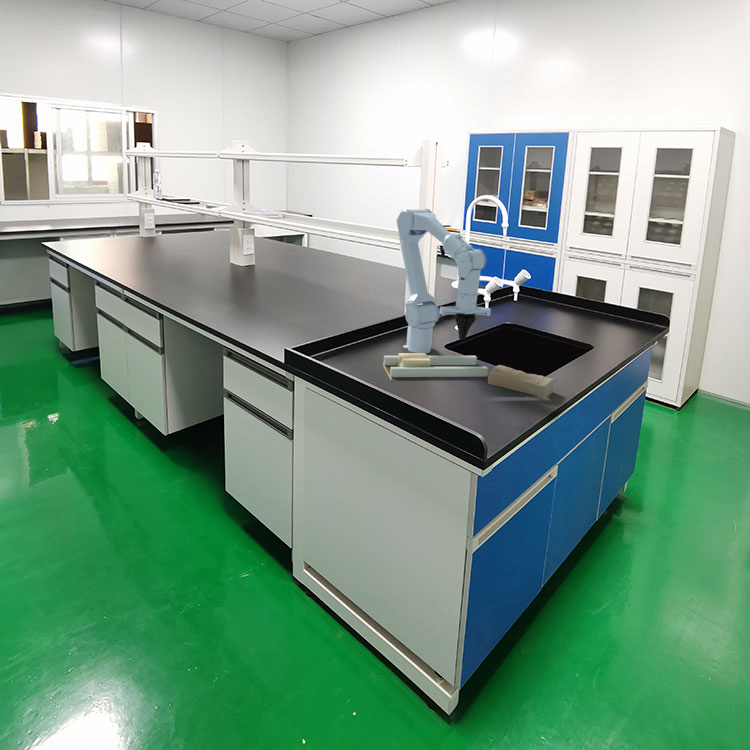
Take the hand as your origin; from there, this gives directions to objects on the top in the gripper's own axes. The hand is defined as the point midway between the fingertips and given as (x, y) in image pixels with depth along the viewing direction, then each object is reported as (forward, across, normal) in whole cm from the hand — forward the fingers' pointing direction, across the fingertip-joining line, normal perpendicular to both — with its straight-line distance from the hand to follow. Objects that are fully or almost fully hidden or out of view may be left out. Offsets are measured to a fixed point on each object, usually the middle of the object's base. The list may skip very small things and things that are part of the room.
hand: (461, 338), depth 174 cm
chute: (+9, -8, -3) cm, 13 cm away
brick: (+10, +13, -15) cm, 23 cm away
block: (+8, -14, -3) cm, 17 cm away
